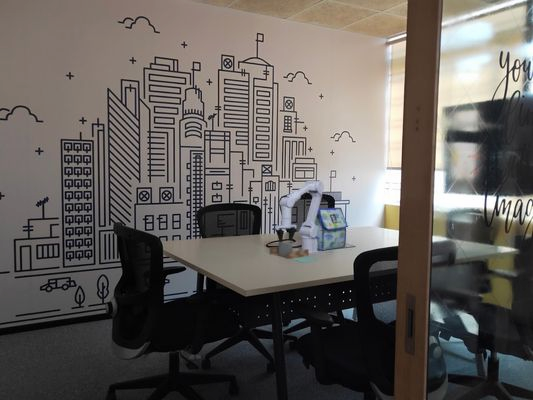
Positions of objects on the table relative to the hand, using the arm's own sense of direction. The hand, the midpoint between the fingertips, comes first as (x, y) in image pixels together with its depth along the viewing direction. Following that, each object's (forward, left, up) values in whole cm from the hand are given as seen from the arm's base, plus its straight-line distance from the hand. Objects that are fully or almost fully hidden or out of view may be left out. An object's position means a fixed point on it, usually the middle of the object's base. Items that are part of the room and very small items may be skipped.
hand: (285, 241), depth 257 cm
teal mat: (-2, +14, -9) cm, 17 cm away
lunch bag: (-40, -4, -9) cm, 41 cm away
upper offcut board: (-7, 0, -8) cm, 11 cm away
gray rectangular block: (0, 0, -9) cm, 9 cm away
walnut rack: (-3, 0, -9) cm, 9 cm away
